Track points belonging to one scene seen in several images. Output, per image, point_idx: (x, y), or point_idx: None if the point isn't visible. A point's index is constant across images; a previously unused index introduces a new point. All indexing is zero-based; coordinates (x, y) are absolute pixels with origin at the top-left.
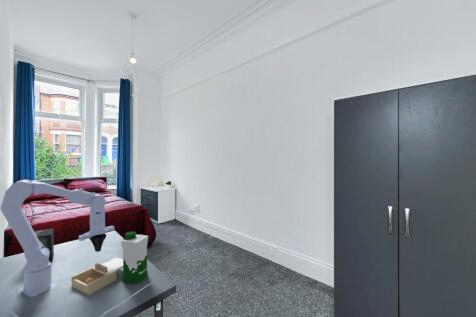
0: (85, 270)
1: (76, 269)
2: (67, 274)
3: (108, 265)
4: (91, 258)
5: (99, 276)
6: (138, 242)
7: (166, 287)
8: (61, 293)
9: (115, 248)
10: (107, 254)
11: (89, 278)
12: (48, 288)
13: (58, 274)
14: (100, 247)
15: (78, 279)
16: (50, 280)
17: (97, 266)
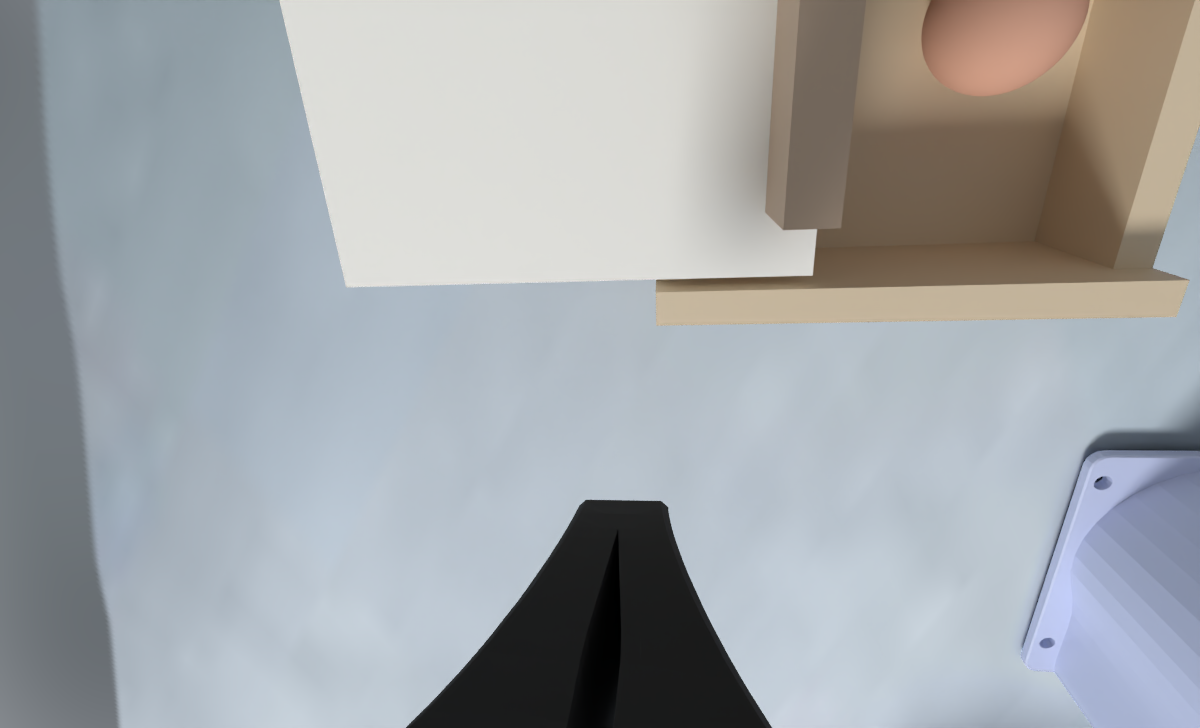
0: (924, 314)
1: (726, 613)
2: (837, 596)
3: (603, 99)
4: None
5: None
6: None
7: None
8: (1192, 244)
9: (241, 678)
10: (358, 634)
11: (1042, 6)
12: (1174, 473)
13: (875, 665)
14: (587, 556)
15: (1021, 260)
16: (1191, 549)
17: (844, 121)
